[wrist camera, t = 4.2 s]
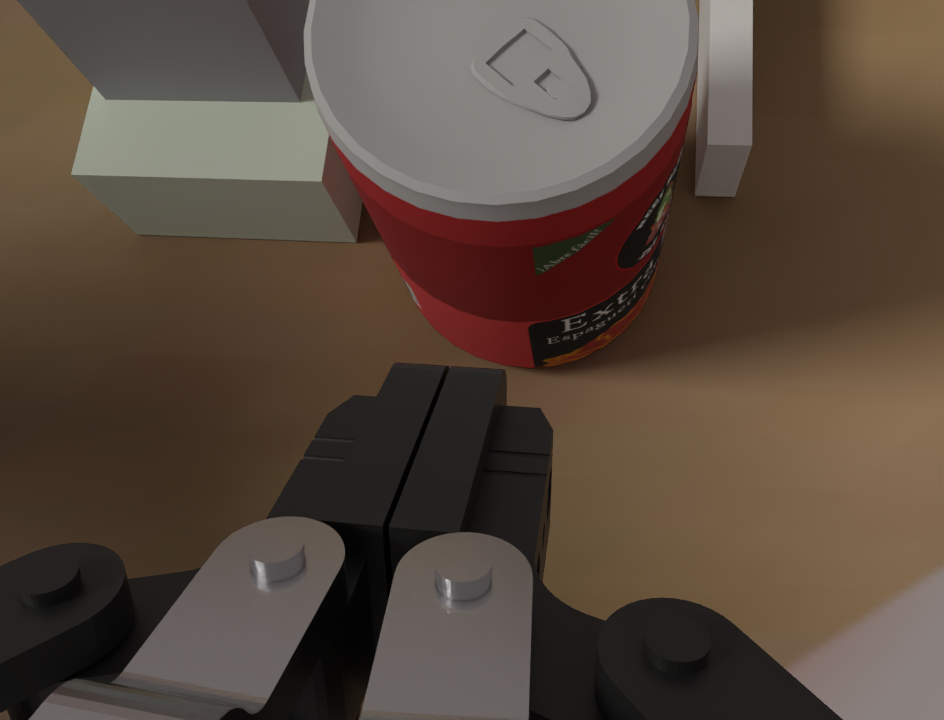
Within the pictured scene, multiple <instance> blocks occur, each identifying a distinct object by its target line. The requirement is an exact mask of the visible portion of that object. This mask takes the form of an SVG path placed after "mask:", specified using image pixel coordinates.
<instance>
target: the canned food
mask: <svg viewBox="0 0 944 720" xmlns="http://www.w3.org/2000/svg"><path fill="white" fill-rule="evenodd" d="M698 21H699V20H698V15H697V10H696V5H695V0H310V1H309V7H308V12H307V17H306V22H305V27H304V60H305V67H306V71H307V75H308V79H309V82H310V86H311V90H312V94H313V96H314V99H315V103H316V106H317V110H318V113H319V115H320V117H321V119H322V121H323V123H324V125H325V127H326V129H327V131H328V133H329V135H330V138H331V141H332V143H333V145H334V147H335V149H336V151H337V153H338V155H339V157H340V159H341V161H342V162H343V164H344V166H345V168H346V170H347V172H348V174H349V176H350V178H351V180H352V182H353V184H354V186H355V188H356V189H357V191H358V193H359V195H360V197H361V199H362V201H363V203H364V205H365V207H366V209H367V211H368V213H369V214H370V216H371V218H372V220H373V222H374V224H375V226H376V228H377V230H378V232H379V234H380V236H381V238H382V240H383V241H384V243H385V245H386V247H387V249H388V251H389V253H390V255H391V257H392V259H393V261H394V263H395V265H396V266H397V268H398V270H399V272H400V274H401V276H402V278H403V280H404V282H405V284H406V286H407V288H408V290H409V291H410V293H411V295H412V297H413V299H414V301H415V303H416V305H417V307H418V309H419V310H420V312H421V313H422V314H423V315H424V316H425V318H426V319H427V320H428V321H429V323H430V324H431V325H432V326H433V327H434V329H435V330H437V331H438V332H439V333H440V334H442V335H443V336H444V337H445V338H446V339H448V340H449V341H450V342H451V343H453V344H454V345H456V346H457V347H459V348H461V349H463V350H465V351H467V352H469V353H470V354H472V355H474V356H476V357H479V358H482V359H485V360H488V361H491V362H495V363H498V364H501V365H508V366H517V367H526V368H536V367H550V366H556V365H560V364H564V363H567V362H571V361H575V360H578V359H581V358H583V357H585V356H587V355H589V354H591V353H593V352H595V351H597V350H599V349H601V348H603V347H604V346H606V345H607V344H608V343H610V342H611V341H612V340H613V339H615V338H616V337H617V336H619V335H620V334H621V333H623V332H624V331H625V329H626V328H627V327H628V326H629V325H630V323H631V322H632V321H633V320H634V319H635V318H636V316H637V315H638V314H639V313H640V311H641V309H642V307H643V305H644V304H645V302H646V300H647V298H648V296H649V294H650V292H651V290H652V286H653V283H654V279H655V276H656V272H657V269H658V264H659V259H660V254H661V250H662V245H663V240H664V235H665V230H666V226H667V221H668V216H669V211H670V207H671V202H672V197H673V192H674V187H675V183H676V178H677V173H678V168H679V163H680V159H681V154H682V149H683V144H684V140H685V135H686V130H687V125H688V120H689V116H690V111H691V106H692V95H693V90H694V85H695V80H696V75H697V61H698Z"/></svg>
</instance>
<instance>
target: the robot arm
mask: <svg viewBox="0 0 944 720" xmlns="http://www.w3.org/2000/svg"><path fill="white" fill-rule="evenodd" d="M552 449H553V429H552V427H551V426H550V424H549V422H548V420H547V419H546V417H545V415H544V414H543V412H542V410H541V409H540V408H530V407H516V406H507V381H506V372H505V370H504V369H488V368H472V367H456V366H451V367H450V368H449V366H443V365H427V364H411V363H394V364H393V366H392V368H391V370H390V371H389V373H388V375H387V377H386V379H385V381H384V383H383V385H382V387H381V389H380V391H379V393H378V395H377V397H372V396H358V395H354V396H352V397H351V398H350V399H348V400H347V401H345V402H344V403H342V404H341V405H340V406H338V407H337V408H335V409H334V410H333V411H331V412H330V413H328V414H327V416H326V418H325V420H324V421H323V423H322V425H321V426H320V428H319V430H318V431H317V433H316V435H315V440H314V441H312V442H311V443H310V445H309V447H308V448H307V450H306V452H305V454H304V459H303V460H300V462H299V464H298V465H297V467H296V469H295V470H294V472H293V474H292V476H291V477H290V479H289V481H288V482H287V484H286V486H285V487H284V489H283V491H282V493H281V494H280V496H279V498H278V499H277V501H276V503H275V504H274V506H273V508H272V510H271V511H270V513H269V515H268V516H267V518H266V520H262V521H258V522H255V523H252V524H250V525H247V526H245V527H243V528H241V529H239V530H237V531H236V532H234V533H233V534H231V535H230V536H228V537H227V538H226V539H225V540H223V541H222V542H221V543H220V545H219V546H218V547H217V548H216V549H215V550H214V552H213V553H212V554H211V556H210V557H209V558H208V560H207V561H206V562H205V564H204V565H203V566H202V568H198V569H194V570H190V571H184V572H179V573H171V574H164V575H156V576H149V577H141V578H134V579H127V575H126V571H125V567H124V564H123V561H122V560H121V558H120V557H119V556H118V555H117V554H116V553H115V552H114V551H112V550H110V549H108V548H106V547H103V546H100V545H96V544H89V543H70V544H62V545H56V546H51V547H48V548H44V549H41V550H38V551H35V552H33V553H30V554H27V555H25V556H23V557H20V558H18V559H16V560H14V561H11V562H9V563H7V564H4V565H2V566H0V713H1V712H3V711H5V710H6V709H7V711H8V713H9V716H10V719H11V720H843V719H841V718H840V717H839V716H838V715H837V714H835V712H833V711H832V710H831V709H830V708H829V707H828V706H827V705H825V704H824V703H823V702H822V701H821V700H820V699H819V698H817V697H816V696H815V695H814V694H813V693H811V691H809V690H808V689H807V688H806V687H805V686H804V685H803V684H801V683H800V682H799V681H798V680H797V679H796V678H795V677H793V676H792V675H791V674H790V673H789V672H788V671H787V670H785V669H784V668H783V667H782V666H781V665H780V664H779V663H778V662H776V661H775V660H774V659H773V658H772V657H771V656H770V655H768V654H767V653H766V652H765V651H764V650H763V649H762V648H760V647H759V646H758V645H757V644H756V643H755V642H754V641H752V640H751V639H750V638H749V637H748V636H747V635H746V634H744V633H743V632H742V631H741V630H740V629H739V628H738V627H736V626H735V625H734V624H733V623H732V622H730V621H729V620H728V619H726V618H725V617H724V616H722V615H720V614H719V613H717V612H715V611H713V610H712V609H709V608H707V607H705V606H702V605H700V604H696V603H693V602H690V601H686V600H680V599H674V598H650V599H645V600H639V601H636V602H633V603H630V604H627V605H625V606H624V607H622V608H620V609H618V610H617V611H615V612H614V613H613V614H612V615H611V616H610V617H609V618H608V619H607V620H606V621H604V620H601V619H598V618H596V617H593V616H590V615H587V614H585V613H582V612H580V611H578V610H575V609H573V608H571V607H570V606H568V605H566V604H565V603H563V602H562V601H560V600H559V599H558V598H556V597H555V596H554V595H553V594H552V593H551V592H550V591H549V590H548V589H547V588H546V587H545V585H544V584H543V582H542V581H543V572H544V566H545V558H546V550H547V542H548V534H549V527H550V507H551V478H552ZM366 690H367V692H366ZM365 693H366V696H365ZM364 696H365V700H364V704H363V709H362V713H361V705H362V702H363V699H364Z"/></svg>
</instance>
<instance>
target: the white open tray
mask: <svg viewBox="0 0 944 720" xmlns="http://www.w3.org/2000/svg"><path fill="white" fill-rule="evenodd" d="M17 1H18V2H19V3H20V4H21V5H22V6H23V7H24V8H25V10H26V11H27V12H28V13H29V14H30V15H31V16H32V17H33V19H34V20H35V21H36V22H37V23H38V24H39V25H40V26H41V28H42V29H43V30H44V31H45V32H46V33H47V34H48V35H49V37H50V38H51V39H52V40H53V41H54V42H55V43H56V44H57V46H58V47H59V48H60V49H61V50H62V51H63V52H64V53H65V55H66V56H67V57H68V58H69V59H70V60H71V61H72V62H73V64H74V65H75V66H76V67H77V68H78V69H79V70H80V71H81V73H82V74H83V75H84V76H85V77H86V78H87V79H88V80H89V82H90V83H91V84H92V85H93V90H92V94H91V98H90V102H89V106H88V110H87V114H86V118H85V122H84V126H83V130H82V134H81V138H80V142H79V146H78V150H77V154H76V157H75V161H74V165H73V169H72V173H71V175H72V176H73V177H74V178H75V179H76V180H78V181H79V182H80V183H81V184H82V185H83V186H84V187H85V188H86V189H88V190H89V191H90V192H91V193H92V194H93V195H94V196H95V197H96V198H97V199H99V200H100V201H101V202H102V203H103V204H104V205H105V206H106V207H107V208H109V209H110V210H111V211H112V212H113V213H114V214H115V215H116V216H117V217H119V218H120V219H121V220H122V221H123V222H124V223H125V224H126V225H127V226H128V227H130V228H131V229H132V230H133V231H134V232H135V233H136V234H137V235H163V236H190V237H216V238H243V239H270V240H297V241H323V242H350V243H357V237H358V230H359V223H360V216H361V209H362V203H363V201H362V199H361V197H360V195H359V193H358V191H357V189H356V188H355V186H354V184H353V182H352V180H351V178H350V176H349V174H348V172H347V170H346V168H345V166H344V164H343V162H342V161H341V159H340V157H339V155H338V153H337V151H336V149H335V147H334V145H333V143H332V141H331V138H330V135H329V133H328V131H327V129H326V127H325V125H324V123H323V121H322V119H321V117H320V115H319V113H318V110H317V106H316V103H315V99H314V96H313V94H312V90H311V86H310V82H309V79H308V75H307V71H306V67H305V60H304V27H305V22H306V17H307V12H308V7H309V1H310V0H17ZM752 83H753V0H700V5H699V45H698V85H697V125H696V165H695V196H718V197H735V195H736V192H737V189H738V186H739V183H740V180H741V177H742V174H743V171H744V168H745V165H746V162H747V159H748V156H749V153H750V151H751V148H752Z"/></svg>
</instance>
